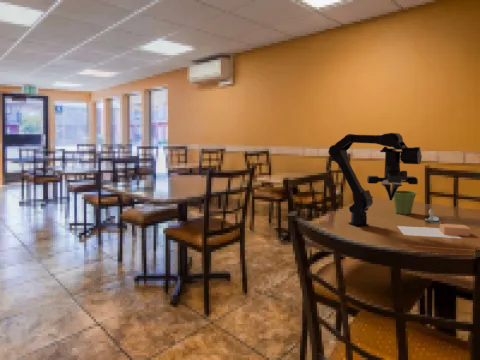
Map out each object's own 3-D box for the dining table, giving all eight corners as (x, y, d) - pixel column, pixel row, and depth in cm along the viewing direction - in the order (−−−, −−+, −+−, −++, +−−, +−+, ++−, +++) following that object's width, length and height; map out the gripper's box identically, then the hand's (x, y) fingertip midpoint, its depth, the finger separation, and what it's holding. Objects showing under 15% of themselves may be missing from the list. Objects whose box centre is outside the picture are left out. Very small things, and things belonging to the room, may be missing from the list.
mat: (403, 235, 130) (404, 234, 130) (396, 226, 143) (396, 225, 143) (461, 239, 125) (462, 238, 125) (448, 229, 138) (448, 228, 138)
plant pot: (409, 210, 175) (411, 190, 173) (419, 216, 163) (421, 194, 162) (387, 210, 176) (388, 190, 175) (395, 215, 164) (396, 193, 163)
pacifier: (443, 223, 150) (429, 220, 155) (445, 209, 149) (431, 207, 154) (437, 225, 146) (423, 222, 150) (438, 212, 145) (424, 209, 149)
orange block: (444, 227, 130) (470, 228, 127) (439, 223, 135) (464, 225, 133) (443, 234, 130) (469, 235, 128) (439, 230, 135) (463, 232, 133)
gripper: (370, 164, 130) (369, 202, 132) (422, 165, 125) (420, 204, 127) (367, 162, 140) (366, 198, 142) (415, 162, 136) (413, 199, 137)
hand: (390, 200), depth 137 cm, fingers closed
